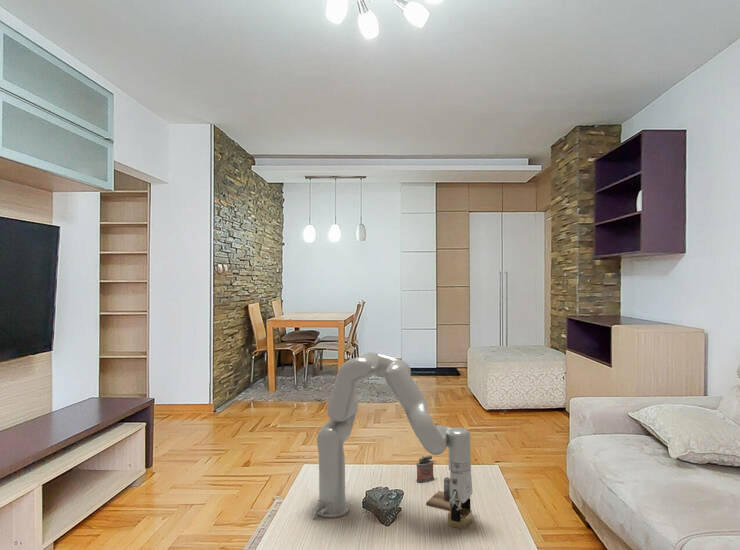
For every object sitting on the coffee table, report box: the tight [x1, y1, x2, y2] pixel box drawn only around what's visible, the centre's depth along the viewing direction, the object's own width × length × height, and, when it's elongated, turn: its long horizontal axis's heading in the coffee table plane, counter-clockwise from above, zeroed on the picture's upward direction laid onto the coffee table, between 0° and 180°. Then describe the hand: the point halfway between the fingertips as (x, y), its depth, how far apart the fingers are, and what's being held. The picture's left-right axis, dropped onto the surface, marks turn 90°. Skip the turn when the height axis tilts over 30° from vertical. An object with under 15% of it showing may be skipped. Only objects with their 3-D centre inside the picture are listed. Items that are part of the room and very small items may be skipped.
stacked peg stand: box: [425, 477, 461, 512], centre depth 187 cm, size 12×12×9 cm
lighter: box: [416, 455, 435, 484], centre depth 208 cm, size 8×3×10 cm, turn 118°
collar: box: [447, 507, 473, 531], centre depth 171 cm, size 6×6×4 cm
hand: (461, 515), depth 171 cm, fingers open, 9 cm apart
